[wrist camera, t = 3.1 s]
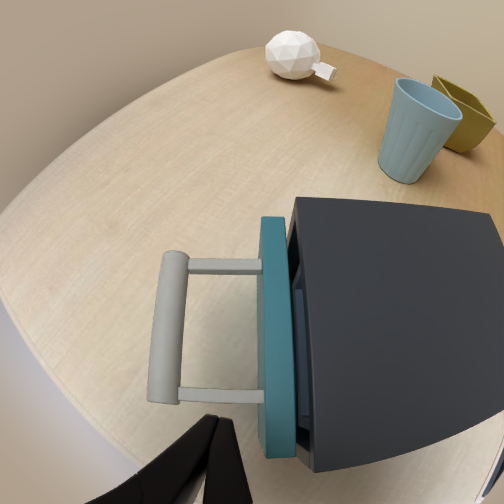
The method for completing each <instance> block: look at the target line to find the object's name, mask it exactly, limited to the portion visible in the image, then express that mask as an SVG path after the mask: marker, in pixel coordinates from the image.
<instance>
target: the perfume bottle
mask: <svg viewBox="0 0 504 504" xmlns="http://www.w3.org/2000/svg"><path fill="white" fill-rule="evenodd" d="M265 47H266V61H267V63H268V66H269V68H270V70H271V71H273V72H274V73H276V74H277V75H279V76H280V77H282V78H285V79H294V80H299V79H302V78H305V77H309V76H311V74H312V73H313V72H314V71H316V73H315V75H317V76H319V77H321V78H323V79H325V80H327V81H333V78H334V76H335V74H336V72H337V70H338V69H336V68H334V67H332V66H330V65H328V64H326V63H322V62H320V64H319V60H320V50H319V48H318V46H317V44H316V42H315V41H314V40H313V39H312V38H310V37H309V36H307V35H306V34H305V33H303V32H298V31H287V30H286V31H284V32H282V33H280V34H277V35H275V36H274V37H273V38H272V39H271V41H270V42H269V43H268V44H267V45H266V46H265Z"/></svg>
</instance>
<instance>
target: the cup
mask: <svg viewBox="0 0 504 504" xmlns="http://www.w3.org/2000/svg"><path fill="white" fill-rule="evenodd" d="M462 117H463V116H462V113H461V111H460V109H459V108H458V107H457V106H456V105H455V104H454V103H453V102H452V101H451V100H450V99H449V98H448V97H446V96H445V95H444V94H442V93H441V92H439V91H438V90H436V89H434V88H432V87H430V86H429V85H427V84H424V83H422V82H420V81H417V80H414V79H410V78H398V79H396V81H395V87H394V92H393V98H392V103H391V107H390V112H389V116H388V121H387V125H386V129H385V133H384V137H383V141H382V145H381V149H380V153H379V157H378V162H379V165H380V167H381V168H382V170H383V171H384V172H385V173H386V174H387V175H388V176H390V177H391V178H393V179H394V180H396V181H398V182H401V183H405V184H412V183H415V182H416V181H417V180H418V179H419V177H420V176H421V175H422V174H423V172H424V171H425V170H426V168H427V167H428V166H429V164H430V163H431V162H432V160H433V159H434V158H435V156H436V155H437V154H438V152H439V151H440V149H441V148H442V147H443V145H444V144H445V142H446V141H447V140H448V138H449V137H450V135H451V134H452V132H453V131H454V130H455V128H456V127H457V126H458V124H459V123H460V121H461V120H462Z"/></svg>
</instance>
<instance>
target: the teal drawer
mask: <svg viewBox="0 0 504 504" xmlns="http://www.w3.org/2000/svg"><path fill="white" fill-rule="evenodd" d="M189 273H190V274H212V275H257V335H258V390H235V389H207V388H191V387H180V380H181V360H182V344H183V330H184V317H185V306H186V295H187V285H188V275H189ZM292 288H293V303H294V320H295V338H296V359H297V384H298V423H299V426H300V427H302V428H305V429H307V430H310V424H309V390H308V367H307V348H306V332H305V317H304V304H303V292H302V280H301V269H300V264H299V267H298V270H297V272H296V275H295V278H294V281H293V284H292ZM147 401H149V402H155V403H163V404H173V405H179V404H180V401H191V402H206V403H230V404H258V437H259V440H260V443H261V446H262V449H263V451H264V454H265V457H266V458H267V459H272V458H289V457H295V456H296V411H295V376H294V351H293V330H292V312H291V296H290V280H289V266H288V253H287V240H286V228H285V218H284V217H262V218H261V229H260V243H259V256H258V259H201V258H190V257H189V256H188V255H187V254H186V253H184V252H181V251H175V250H172V251H167V252H165V253H164V254H163V256H162V262H161V268H160V274H159V281H158V287H157V295H156V302H155V310H154V318H153V327H152V336H151V346H150V358H149V371H148V386H147Z"/></svg>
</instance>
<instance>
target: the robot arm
mask: <svg viewBox="0 0 504 504" xmlns="http://www.w3.org/2000/svg"><path fill="white" fill-rule="evenodd" d="M137 474H138V475H137ZM137 474H134V476H132V477H130V478H129V479H128V480H126V481H125V482H124V483H122V484H121V485H119V486H118V487H117V488H114V489H113V490H111V491H109V492H107V493H106V494H104V495H102V496H100V497H98V498H96V499H93V500H91V501H89V502H87V503H85V504H193V503H194V501H195V499H196V497H197V494H198V492H199V490H200V488H201V485H202V483H203V481H204V479H205V487H204V496H203V504H253V500H252V497H251V493H250V489H249V486H248V482H247V478H246V474H245V470H244V466H243V462H242V458H241V454H240V450H239V446H238V442H237V438H236V433H235V429H234V424H233V421H232V419H229V418H224V417H220V418H219V417H218V416H215V415H211V414H206V415H204V416H203V417H202V418H201V419H200V420H199V421H198V422H197V423H196V424H195V425H193V426H192V427H191V428H190V429H189V430H188V431H187V432H186V433H184V434H183V435H182V436H181V437H180V438H179V439H177V440H176V441H175V442H174V443H173V444H172V445H170V446H169V447H168V448H167V449H166V450H165V451H163V452H162V453H161V454H160V455H158V456H157V457H156V458H155V459H154V460H152V461H151V462H150V463H149V464H147V465H146V466H145V467H144V468H142V469H141V470H140V471H138V472H137ZM205 476H206V478H205Z"/></svg>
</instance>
